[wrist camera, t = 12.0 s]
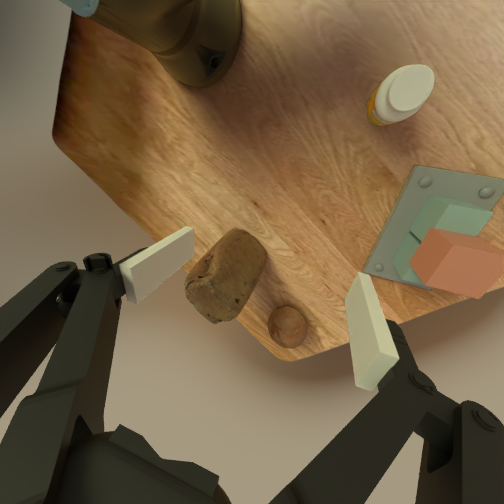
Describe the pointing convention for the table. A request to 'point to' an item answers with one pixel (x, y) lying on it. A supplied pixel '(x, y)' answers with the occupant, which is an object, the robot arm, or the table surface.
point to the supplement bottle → (400, 94)
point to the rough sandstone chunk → (226, 276)
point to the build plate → (413, 203)
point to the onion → (287, 327)
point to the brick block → (457, 262)
